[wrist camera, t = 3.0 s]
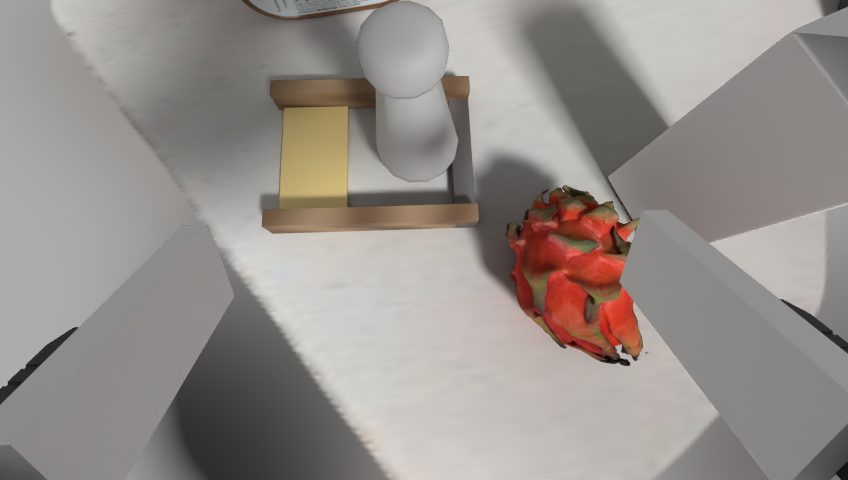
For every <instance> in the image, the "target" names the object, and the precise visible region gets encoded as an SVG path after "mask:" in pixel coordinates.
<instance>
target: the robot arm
mask: <svg viewBox="0 0 848 480" xmlns="http://www.w3.org/2000/svg"><path fill="white" fill-rule="evenodd" d="M846 7H848V0H841V3H840V7H839V10H841V9H844V8H846ZM619 282H620V283H621V285H622V286H623V287H624V289H625V290H626V291H627V293H628V294H629V295H630V297H631V298H632V299H633V301H634V302H635V303H636V305H637V306H638V307H639V308H640V310H641V311H642V312H643V314H644V315H645V316H646V318H647V319H648V320H649V322H650V323H651V324H652V326H653V327H654V328H655V330H656V331H657V332H658V333H659V335H660V336H661V337H662V339H663V340H664V341H665V343H666V344H667V345H668V347H669V348H670V349H671V351H672V352H673V353H674V355H675V356H676V357H677V358H678V360H679V361H680V362H681V364H682V365H683V366H684V368H685V369H686V370H687V372H688V373H689V374H690V376H691V377H692V378H693V380H694V381H695V382H696V384H697V385H698V386H699V387H700V389H701V390H702V391H703V393H704V394H705V395H706V397H707V398H708V399H709V401H710V402H711V403H712V405H713V406H714V407H715V409H716V410H717V411H718V412H719V414H720V415H721V416H722V418H723V419H724V420H725V422H726V423H727V424H728V426H729V427H730V428H731V430H732V431H733V432H734V433H735V435H736V436H737V437H738V439H739V440H740V441H741V443H742V444H743V445H744V446H745V448H746V449H747V451H748V452H749V453H750V455H751V456H752V457H753V459H754V460H755V461H756V462H757V464H758V465H759V466H760V468H761V469H762V470H763V472H764V473H765V474H766V476H767V477H768V478H769V479H770V480H830V479H831V478H833V477H834V476H835V475H837V476H838V477H839V478H840V479H841V480H848V343H847V342H845V340H843V339H842V338H840V337H839V336H838V335H833V333H832V332H833V331H832V330H830V329H829V328H828V327H826V326H825V325H824V324H823V323H821V322H820V321H818V320H817V319H816V318H815V317H814V316H812V315H811V314H809V313H808V312H806V311H804V310H802V309H800V308H798V307H796V306H794V305H792V304H790V303H789V302H787V301H785V300H783V299H778V298H777V297H776V296H775V295H773V294H772V293H771V292H770V291H768V290H767V289H766V288H765V287H763V286H762V285H761V284H760V283H758V282H757V281H756V280H754V279H753V278H752V277H751V276H749V275H748V274H747V273H746V272H744V271H743V270H742V269H741V268H739V267H738V266H737V265H736V264H734V263H733V262H732V261H731V260H729V259H728V258H727V257H726V256H724V255H723V254H722V253H721V252H719V251H718V250H717V249H716V248H714V247H713V246H712V245H711V244H709V243H708V242H707V241H706V240H704V239H703V238H702V237H700V236H699V235H698V234H697V233H695V232H694V231H693V230H692V229H690V228H689V227H688V226H687V225H685V224H684V223H683V222H682V221H680V220H679V219H678V218H677V217H675V216H674V215H673V214H672V213H670V212H669V211H668V210H648V211H642V213H641V216H640V219H639V223H638V226H637V229H636V232H635V235H634V238H633V241H632V244H631V247H630V250H629V253H628V256H627V259H626V262H625V265H624V269H623V272H622V275H621V278H620V281H619ZM233 297H234V293H233V291H232V288H231V285H230V282H229V280H228V277H227V274H226V272H225V269H224V266H223V263H222V261H221V258H220V255H219V252H218V250H217V247H216V244H215V242H214V239H213V236H212V233H211V231H210V228H209V225H184V226H181V227H180V228H179V229H178V230H177V231H176V232H175V233H174V234H173V235H172V236H171V237H170V238H169V239H168V240H167V241H166V242H165V243H164V244H163V245H162V246H161V247H160V248H159V249H158V250H157V251H156V252H155V253H154V254H153V255H152V256H151V257H150V258H149V259H148V260H147V261H146V262H145V263H144V264H143V265H142V266H141V267H140V268H139V269H138V270H137V271H136V272H135V273H134V274H133V275H132V276H131V277H130V278H129V279H127V280H126V281H125V282H124V283H123V284H122V285H121V286H120V287H119V288H118V289H117V290H116V291H115V292H114V293H113V294H112V295H111V296H110V297H109V298H108V299H107V300H106V301H105V302H104V303H103V304H102V305H101V306H100V307H99V308H98V309H97V310H96V311H95V312H94V313H93V314H92V315H91V316H90V317H89V318H88V319H87V320H86V321H85V322H84V323H83V324H82V325H81V326H80V327H74V328H72V329H71V330H69V331H68V332H66V333H65V334H63V335H61V336H60V337H58V338H57V339H55V340H54V341H52V342H51V343H49V344H47V345H46V346H45V347H44V348H43V349H42V350H41V351H40V352H39V353H38V354H37V355H36V356H35V357H33V358H32V360H30V361H29V362H28V363H27V364H26V368H25V369H21V370H20V371H19V372H18V373H17V374H16V375H14V376H13V377H12V378H11V379H10V380H9V381H8V385H7V386H3V387H2V388H1V389H0V480H126V478H127V476H128V474H129V473H130V471H131V469H132V468H133V466H134V464H135V463H136V461H137V459H138V458H139V456H140V454H141V452H142V451H143V449H144V447H145V446H146V444H147V442H148V441H149V439H150V437H151V436H152V434H153V432H154V431H155V429H156V427H157V425H158V424H159V422H160V420H161V419H162V417H163V415H164V414H165V412H166V410H167V409H168V407H169V405H170V404H171V402H172V400H173V399H174V397H175V395H176V394H177V392H178V390H179V388H180V387H181V385H182V383H183V382H184V380H185V378H186V377H187V375H188V373H189V372H190V370H191V368H192V366H193V365H194V363H195V361H196V360H197V358H198V356H199V355H200V353H201V351H202V350H203V348H204V346H205V345H206V343H207V341H208V340H209V338H210V336H211V334H212V333H213V331H214V329H215V328H216V326H217V324H218V322H219V321H220V319H221V318H222V316H223V314H224V312H225V311H226V309H227V307H228V306H229V304H230V302H231V301H232V299H233Z"/></svg>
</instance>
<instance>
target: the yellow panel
mask: <svg viewBox="0 0 848 480" xmlns="http://www.w3.org/2000/svg"><path fill="white" fill-rule="evenodd" d="M348 117H349V109H348V106H338V107H297V108H284V119H283V138H282V157H281V176H280V196H279V209H306V208H340V207H348Z"/></svg>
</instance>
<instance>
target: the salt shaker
mask: <svg viewBox="0 0 848 480" xmlns="http://www.w3.org/2000/svg"><path fill="white" fill-rule="evenodd" d="M356 44H357V53H358V57H359V61H360V65H361V69H362V71H363V73H364V76H365V78H366V79H367V80H368V81H369V82H370V83H371V84H372V85H373V86H374V88H375V89H376V146H377V150H378V153H379V157H380V161H381V162H382V163H383V164H384V165H385V166H386V168H387V169H388V170H389V171H390V172H391V173H392V175H393V176H396V177H398V178H401V179H403V180H406V181H408V182H427V181H429V180H431V179H433V178H435V177H437V176H439V175H441V174H443V173H444V172H445V171H446V169H447V168H448V167H449V166H450V164H451V163H452V162H453V160H454V158H455V154H456V149H457V144H458V137H457V134H456V131H455V127H454V124H453V121H452V117H451V114H450V110H449V107H448V103H447V100H446V96H445V93H444V89H443V86H442V82H441V78H442V77H443V75H444V74H445V70H446V65H447V60H448V53H449V44H448V40H447V36H446V33H445V29H444V26H443V23H442V19H440V18H439V17H438V16H437V15H436V14H435V13H434V12H433V11H432V10H431V9H430V8H429V7H426V6H423V5H420V4H417V3H414V2H411V1H402V2H392V3H389V4H387V5H385V6H383V7H381V8H379V9H376V10H374V11H373V12H372V13H371V14H370V15H369V17H368V18H367V19H366V20H365V21H364V22H363V23H362V25H361V27H360V31H359V34H358V38H357V41H356Z"/></svg>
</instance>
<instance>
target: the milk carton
mask: <svg viewBox="0 0 848 480" xmlns="http://www.w3.org/2000/svg"><path fill="white" fill-rule="evenodd" d="M608 179H609V181H610V183H611V185H612V186H613V188H614V190H615V191H616V193H617V195H618V196H619V198H620V200H621V201H622V203H623V204H624V206H625V208H626V209H627V211H628V213H629V214H630V216H631V218H632V219H633V220H634V219H636V218H640V216H641V213H642V211H648V210H668V211H669V212H670V213H672V214H673V215H674V216H675V217H677V218H678V219H679V220H680V221H682V222H683V223H684V224H685V225H687V226H688V227H689V228H690V229H692V230H693V231H694V232H695V233H697V234H698V235H699V236H700V237H702V238H703V239H704V240H706V241H707V242H708V243H709V244H711V243H714V242H718V241H721V240H725V239H728V238H732V237H735V236H739V235H742V234H746V233H749V232H753V231H756V230H760V229H763V228H767V227H770V226H774V225H777V224H781V223H784V222H788V221H791V220H795V219H798V218H802V217H805V216H809V215H812V214H816V213H819V212H823V211H826V210H830V209H833V208H837V207H840V206H844V205H847V204H848V7H846V8H844V9H841V10H839V11H837V12H834V13H832V14H830V15H827V16H825V17H823V18H821V19H818V20H816V21H814V22H811V23H809V24H807V25H805V26H803V27H800V28H798V29H796V30H794V31H792V32H791V33H789V34H788V35H786V36H785V37H784V38H782V39H781V40H780V41H778V42H777V43H776V44H774V45H773V46H772V47H771V48H769V49H768V50H767V51H766V52H764V53H763V54H762V55H760V56H759V57H758V58H757V59H755V60H754V61H753V62H752V63H750V64H749V65H748V66H747V67H745V68H744V69H743V70H742V71H740V72H739V73H738V74H737V75H735V76H734V77H733V78H732V79H730V80H729V81H728V82H726V83H725V84H724V85H723V86H721V87H720V88H719V89H718V90H716V91H715V92H714V93H713V94H711V95H710V96H709V97H708V98H706V99H705V100H704V101H703V102H701V103H700V104H699V105H697V106H696V107H695V108H694V109H692V110H691V111H690V112H689V113H687V114H686V115H685V116H684V117H682V118H681V119H680V120H679V121H677V122H676V123H675V124H674V125H672V126H671V127H670V128H669V129H667V130H666V131H665V132H663V133H662V134H661V135H660V136H658V137H657V138H656V139H655V140H653V141H652V142H651V143H650V144H648V145H647V146H646V147H645V148H643V149H642V150H641V151H640V152H638V153H637V154H636V155H634V156H633V157H632V158H631V159H629V160H628V161H627V162H626V163H624V164H623V165H622V166H621V167H619V168H618V169H617V170H616V171H614V172H613V173H612V174H611V175H609V176H608Z"/></svg>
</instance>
